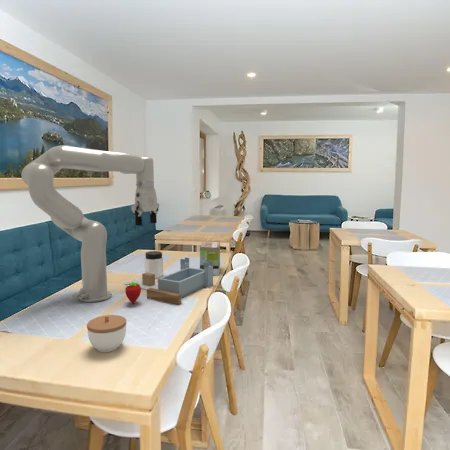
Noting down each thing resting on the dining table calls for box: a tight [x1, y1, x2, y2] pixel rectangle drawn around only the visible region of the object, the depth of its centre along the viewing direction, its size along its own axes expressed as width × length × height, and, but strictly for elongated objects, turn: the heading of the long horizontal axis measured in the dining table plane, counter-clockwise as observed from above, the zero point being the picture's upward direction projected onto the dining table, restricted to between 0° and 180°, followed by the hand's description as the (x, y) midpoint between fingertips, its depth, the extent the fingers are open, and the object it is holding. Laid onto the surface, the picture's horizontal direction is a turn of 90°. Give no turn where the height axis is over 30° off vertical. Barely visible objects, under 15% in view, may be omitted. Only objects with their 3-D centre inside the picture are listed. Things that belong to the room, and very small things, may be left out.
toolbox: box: [157, 257, 214, 299], centre depth 157 cm, size 23×15×11 cm, turn 151°
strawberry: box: [125, 278, 142, 305], centre depth 139 cm, size 6×8×10 cm
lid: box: [123, 272, 158, 291], centre depth 163 cm, size 22×10×6 cm, turn 55°
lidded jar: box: [86, 314, 127, 353], centre depth 103 cm, size 11×11×9 cm
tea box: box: [199, 241, 221, 276], centre depth 187 cm, size 15×10×15 cm
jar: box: [144, 250, 164, 279], centre depth 179 cm, size 9×8×12 cm
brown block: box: [146, 288, 183, 306], centre depth 143 cm, size 2×16×4 cm, turn 59°
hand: (146, 224), depth 160 cm, fingers open, 9 cm apart
